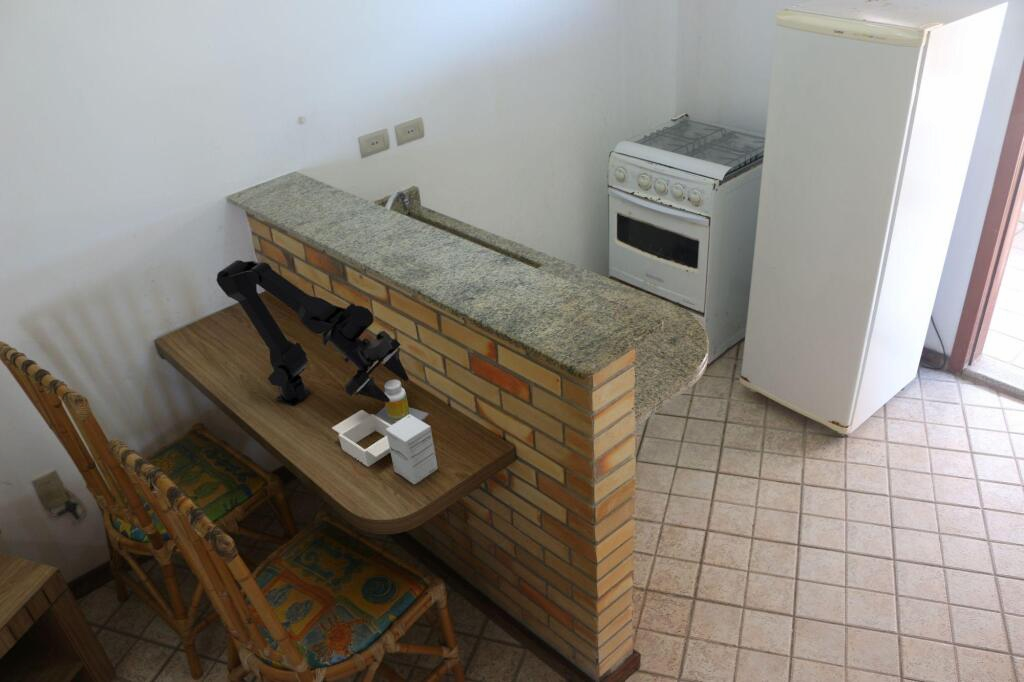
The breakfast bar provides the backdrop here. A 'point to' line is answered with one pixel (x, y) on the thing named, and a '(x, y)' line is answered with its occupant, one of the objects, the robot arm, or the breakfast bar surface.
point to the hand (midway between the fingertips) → (398, 390)
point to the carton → (357, 430)
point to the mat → (413, 412)
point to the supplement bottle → (396, 401)
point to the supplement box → (412, 448)
